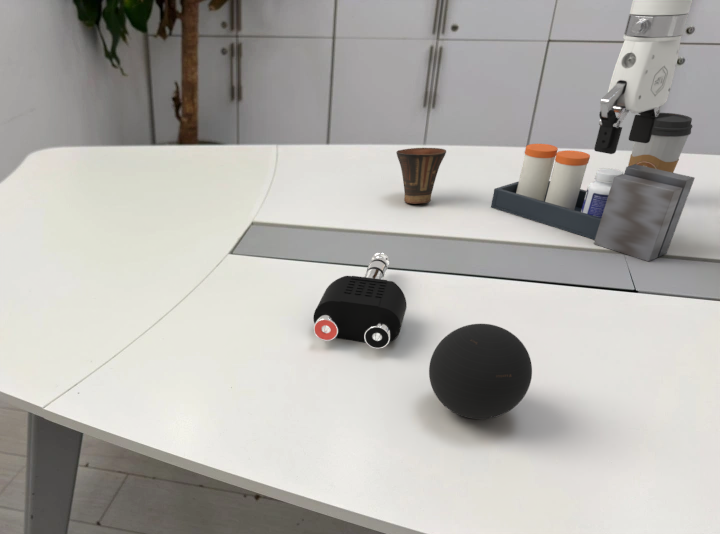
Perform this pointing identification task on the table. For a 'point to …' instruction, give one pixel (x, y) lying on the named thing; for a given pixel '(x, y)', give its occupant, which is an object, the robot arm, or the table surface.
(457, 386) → the speaker
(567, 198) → the white bottles
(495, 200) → the tray
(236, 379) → the table surface
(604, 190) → the pill bottle
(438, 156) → the cup
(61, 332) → the table surface
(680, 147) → the coffee cup
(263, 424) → the table surface
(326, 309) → the audio adapter
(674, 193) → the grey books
